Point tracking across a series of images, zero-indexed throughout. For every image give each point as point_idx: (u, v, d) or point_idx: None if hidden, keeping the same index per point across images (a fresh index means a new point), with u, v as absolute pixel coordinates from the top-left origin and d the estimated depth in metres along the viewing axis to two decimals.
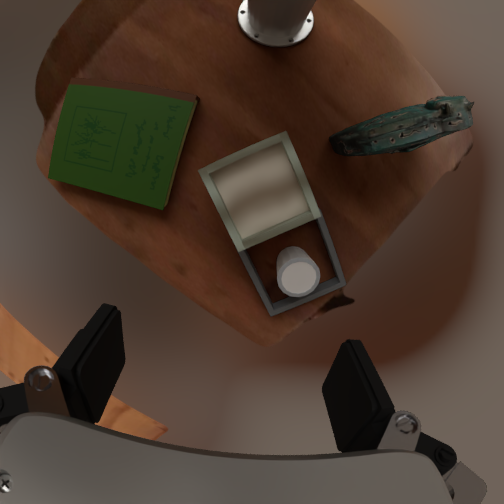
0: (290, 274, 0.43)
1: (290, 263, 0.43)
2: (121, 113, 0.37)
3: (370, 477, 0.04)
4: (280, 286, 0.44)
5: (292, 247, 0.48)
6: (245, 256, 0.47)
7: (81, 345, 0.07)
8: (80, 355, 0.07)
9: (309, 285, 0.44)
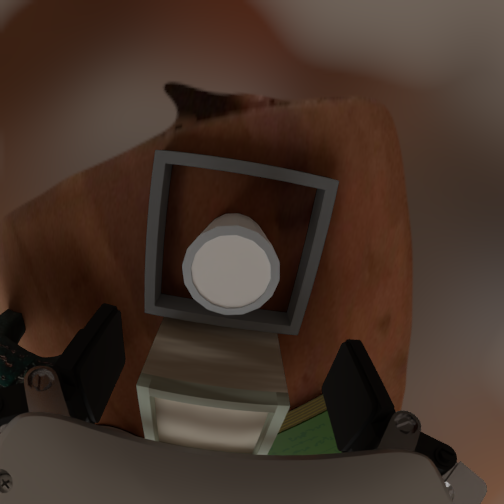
0: (242, 289, 0.20)
1: (229, 310, 0.20)
2: None
3: (370, 477, 0.04)
4: (276, 279, 0.20)
5: None
6: (295, 314, 0.26)
7: (81, 345, 0.07)
8: (80, 355, 0.07)
9: (219, 243, 0.19)
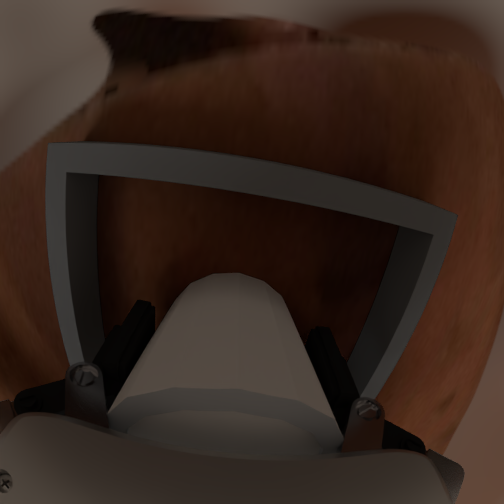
0: None
1: None
2: None
3: (370, 477, 0.04)
4: None
5: None
6: None
7: (123, 340, 0.08)
8: (123, 349, 0.08)
9: (184, 419, 0.06)
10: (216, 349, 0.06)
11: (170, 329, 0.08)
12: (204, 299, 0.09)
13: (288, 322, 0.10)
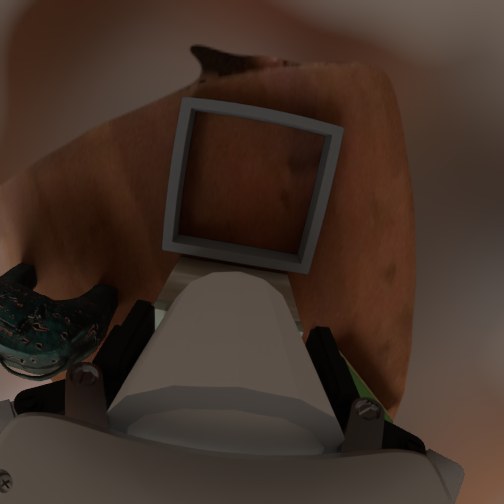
0: None
1: None
2: None
3: (370, 477, 0.04)
4: None
5: None
6: (306, 252, 0.28)
7: (123, 340, 0.08)
8: (123, 349, 0.08)
9: (184, 418, 0.06)
10: (216, 347, 0.06)
11: (170, 327, 0.08)
12: (204, 297, 0.09)
13: (289, 321, 0.10)
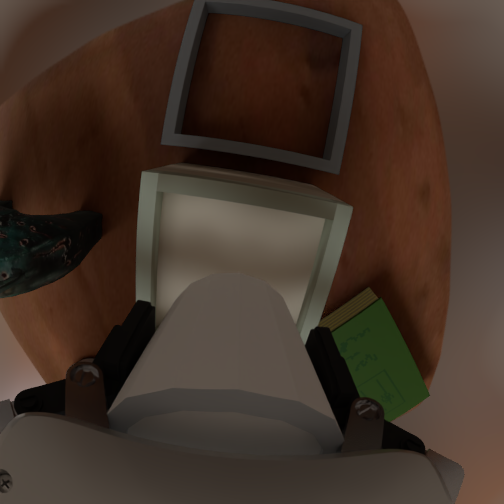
0: None
1: None
2: None
3: (370, 477, 0.04)
4: None
5: None
6: (335, 146, 0.22)
7: (123, 340, 0.08)
8: (124, 349, 0.08)
9: (184, 420, 0.06)
10: (216, 349, 0.06)
11: (170, 329, 0.08)
12: (204, 299, 0.09)
13: (289, 322, 0.10)
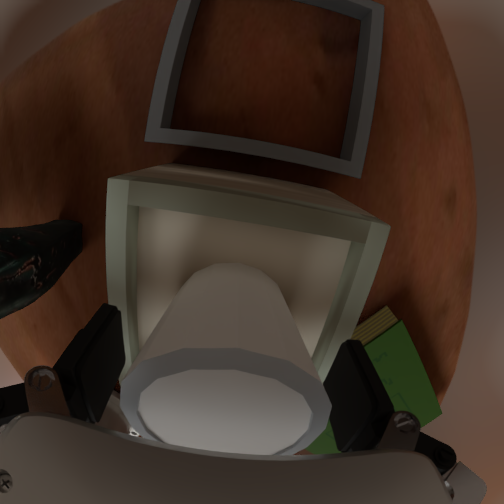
0: (248, 444, 0.08)
1: None
2: (330, 435, 0.28)
3: (370, 477, 0.04)
4: (319, 428, 0.08)
5: None
6: (357, 144, 0.17)
7: (81, 345, 0.07)
8: (80, 355, 0.07)
9: (191, 381, 0.07)
10: (219, 320, 0.08)
11: (178, 308, 0.09)
12: (208, 283, 0.11)
13: (282, 304, 0.11)
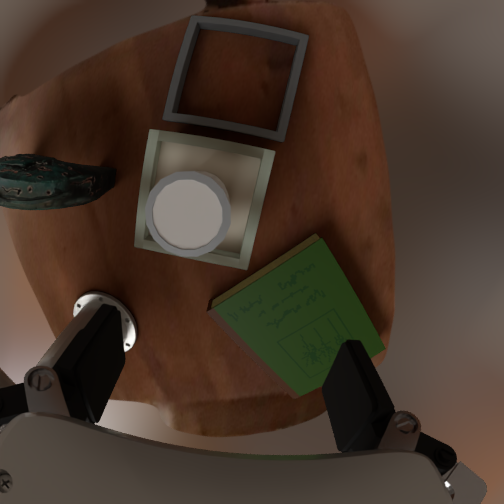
0: (196, 231, 0.22)
1: (185, 251, 0.22)
2: (281, 345, 0.41)
3: (370, 477, 0.04)
4: (227, 222, 0.21)
5: None
6: (281, 121, 0.31)
7: (81, 345, 0.07)
8: (80, 355, 0.07)
9: (177, 187, 0.20)
10: None
11: None
12: None
13: (220, 182, 0.24)
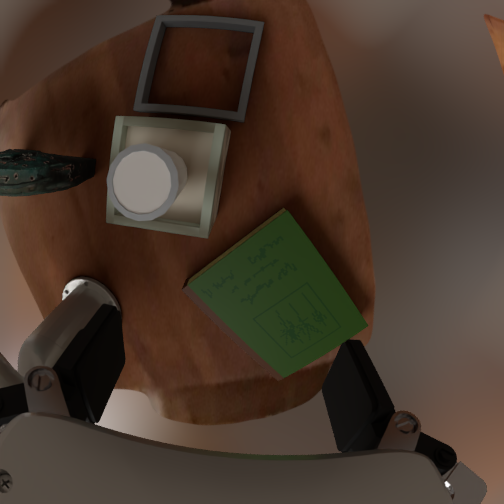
0: (150, 197, 0.23)
1: (141, 215, 0.23)
2: (257, 322, 0.42)
3: (370, 477, 0.04)
4: (175, 186, 0.23)
5: None
6: (240, 102, 0.32)
7: (81, 345, 0.07)
8: (80, 355, 0.07)
9: (132, 159, 0.22)
10: None
11: None
12: None
13: (176, 155, 0.26)
